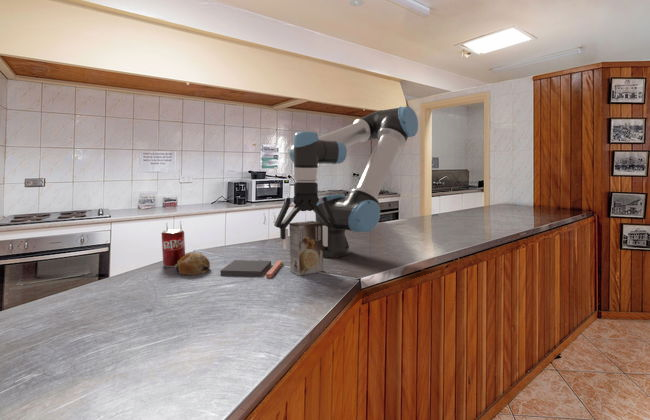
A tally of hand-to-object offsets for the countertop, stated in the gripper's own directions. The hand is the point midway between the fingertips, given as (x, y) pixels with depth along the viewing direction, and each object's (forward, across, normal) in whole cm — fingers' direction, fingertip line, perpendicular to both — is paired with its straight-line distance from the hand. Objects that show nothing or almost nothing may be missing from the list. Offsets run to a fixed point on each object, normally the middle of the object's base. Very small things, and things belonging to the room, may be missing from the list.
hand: (305, 247), depth 114 cm
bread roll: (+9, +34, -16) cm, 38 cm away
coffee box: (+8, 0, 0) cm, 8 cm away
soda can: (+8, +39, -27) cm, 48 cm away
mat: (+8, +17, -10) cm, 21 cm away
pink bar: (+8, +9, -5) cm, 13 cm away
